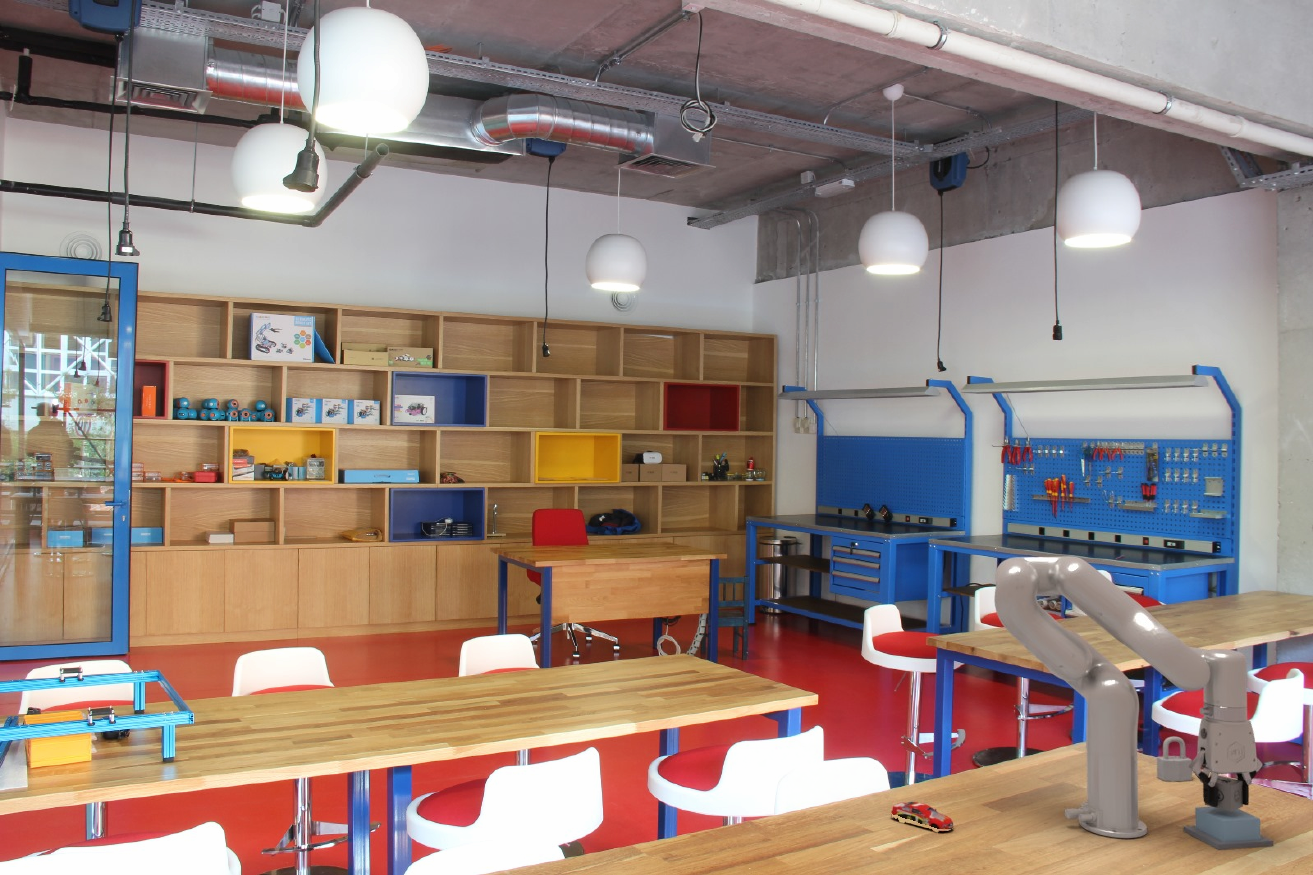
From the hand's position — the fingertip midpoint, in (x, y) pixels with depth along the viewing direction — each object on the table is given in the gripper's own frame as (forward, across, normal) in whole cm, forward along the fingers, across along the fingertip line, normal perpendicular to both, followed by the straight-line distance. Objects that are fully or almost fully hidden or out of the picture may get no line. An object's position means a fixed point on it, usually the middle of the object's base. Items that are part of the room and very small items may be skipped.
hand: (1226, 803), depth 201 cm
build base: (+7, 0, 0) cm, 7 cm away
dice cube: (+1, 0, 0) cm, 1 cm away
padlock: (+7, +15, +36) cm, 40 cm away
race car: (+8, -56, +17) cm, 59 cm away
